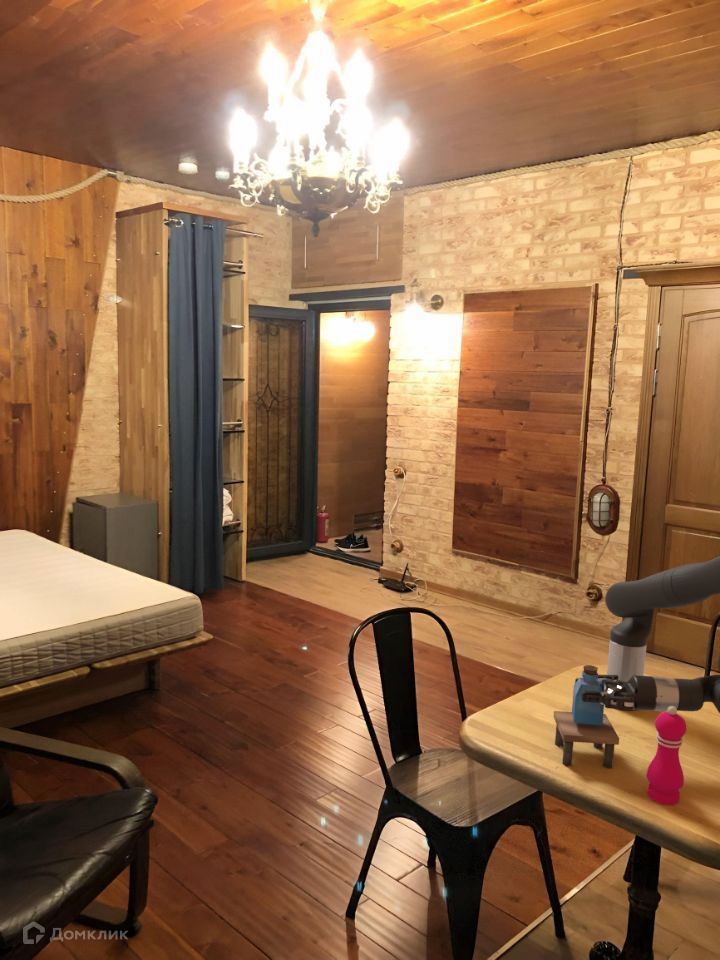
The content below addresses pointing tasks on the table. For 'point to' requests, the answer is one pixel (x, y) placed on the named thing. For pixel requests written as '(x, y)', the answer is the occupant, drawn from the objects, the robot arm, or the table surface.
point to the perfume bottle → (587, 710)
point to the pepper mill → (667, 759)
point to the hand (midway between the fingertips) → (578, 689)
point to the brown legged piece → (584, 736)
